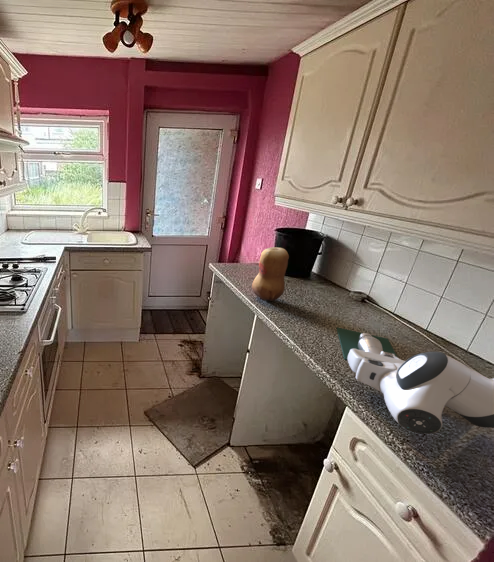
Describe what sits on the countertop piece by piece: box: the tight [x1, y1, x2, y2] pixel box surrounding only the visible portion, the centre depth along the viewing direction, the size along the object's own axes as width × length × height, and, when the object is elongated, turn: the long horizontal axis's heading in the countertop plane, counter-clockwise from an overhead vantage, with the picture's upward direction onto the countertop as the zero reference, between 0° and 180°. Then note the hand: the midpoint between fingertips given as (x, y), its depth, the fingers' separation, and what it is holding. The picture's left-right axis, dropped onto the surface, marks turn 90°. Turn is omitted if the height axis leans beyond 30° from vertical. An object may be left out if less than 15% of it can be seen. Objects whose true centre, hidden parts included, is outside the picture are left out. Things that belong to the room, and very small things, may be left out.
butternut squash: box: [251, 246, 290, 302], centre depth 142 cm, size 14×13×25 cm
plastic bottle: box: [358, 332, 383, 355], centre depth 100 cm, size 6×7×20 cm
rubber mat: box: [336, 326, 399, 361], centre depth 109 cm, size 24×16×1 cm, turn 152°
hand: (386, 354), depth 92 cm, fingers closed
